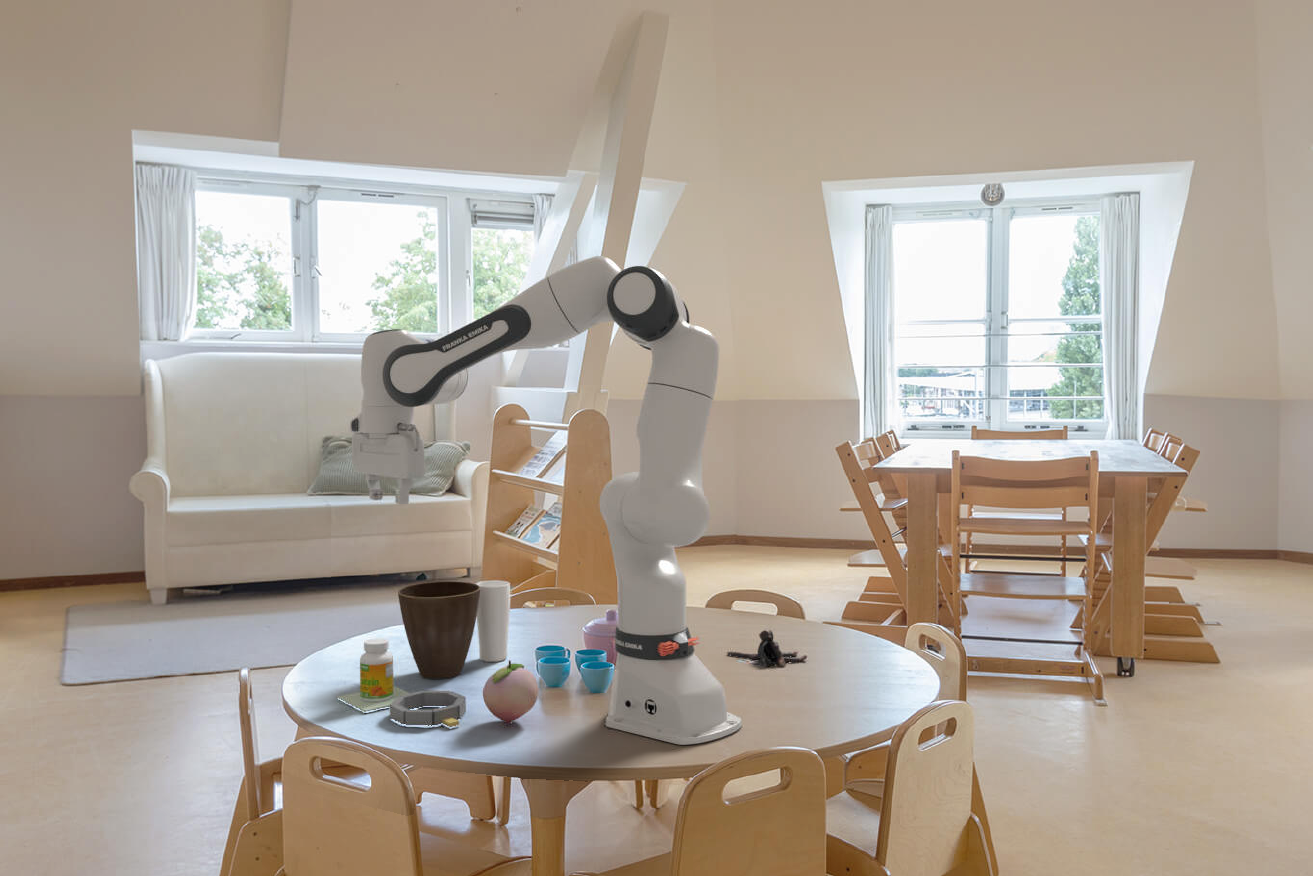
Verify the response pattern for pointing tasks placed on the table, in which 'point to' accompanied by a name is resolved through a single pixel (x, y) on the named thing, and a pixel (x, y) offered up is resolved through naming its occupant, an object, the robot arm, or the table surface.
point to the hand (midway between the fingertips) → (388, 501)
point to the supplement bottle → (376, 671)
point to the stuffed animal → (768, 653)
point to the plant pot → (439, 625)
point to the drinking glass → (493, 620)
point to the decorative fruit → (510, 692)
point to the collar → (429, 717)
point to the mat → (367, 706)
